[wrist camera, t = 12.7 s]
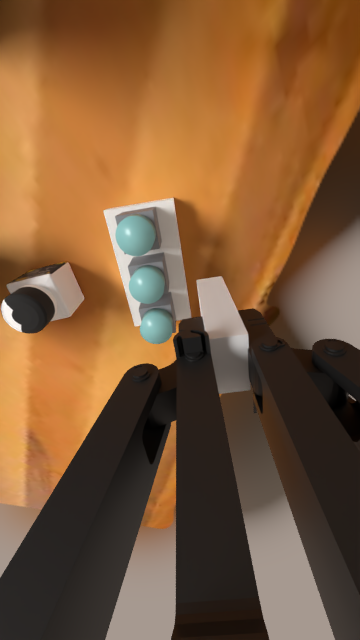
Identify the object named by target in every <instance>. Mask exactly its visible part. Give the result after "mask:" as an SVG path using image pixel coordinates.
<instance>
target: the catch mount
mask: <svg viewBox="0 0 360 640" xmlns="http://www.w3.org/2000/svg"><path fill="white" fill-rule="evenodd" d="M132 214H141V215H144V216H146V217H147V218H149V219H150V220H151V222H152V223H153V225H154V227H155V230H156V238H155V241H154V244H153V246H152V248H151V249H150V251H149V252H147V253H146V254H144V255H142V256H131V255H128V254H126V253H125V252H123V251H122V250H121V249H120V247H119V246H118V244H117V241H116V236H115V234H116V229H117V226H118V224H119V223H120V222H121V221H122V220H123V219H125V218H126V217H128V216H129V215H132ZM104 215H105V219H106V222H107V226H108V230H109V233H110V237H111V241H112V244H113V248H114V252H115V255H116V259H117V263H118V267H119V270H120V274H121V278H122V281H123V285H124V289H125V292H126V296H127V300H128V303H129V307H130V311H131V314H132V318H133V322H134V326H141V322H142V318H143V315H144V314H145V313H146V312H147V311H148V310H150V309H152V308H162V309H164V310H166V311H168V312H169V313H170V315H171V317H172V320H173V327H172V333H175V332H176V321H177V320H183V319H188V318H191V310H190V303H189V297H188V290H187V283H186V277H185V270H184V264H183V257H182V250H181V244H180V237H179V230H178V224H177V217H176V211H175V204H174V197H173V198H168V199H162V200H156V201H150V202H144V203H138V204H133V205H127V206H121V207H115V208H109V209H106V210H104ZM143 265H152V266H155V267H157V268H158V269H160V271H161V272H162V273H163V275H164V278H165V286H164V292H163V295H162V297H161V298H160V299H159V300H158V301H156V302H154V303H151V304H144V303H141V302H138V301H137V300H135V299H134V298H133V297H132V295H131V293H130V291H129V282H130V279H131V277H132V275H133V273H134V271H135V270H136V269H137V268H139V267H140V266H143Z"/></svg>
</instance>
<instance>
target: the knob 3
mask: <svg viewBox="0 0 360 640" xmlns="http://www.w3.org/2000/svg"><path fill="white" fill-rule="evenodd" d="M172 327H173V320H172V317H171V315H170V313H169V312H168V311H166V310H164V309H162V308H152V309H150V310H148V311H147V312H146V313H145V314H144V315H143V318H142V322H141V326H140V333H141V335H142V337H143V338H144V339H145V340H146V341H148V342H150V343H153V344H160V343H164V342H166V341H167V340H168V339H169V338H170V337H171V335H172Z"/></svg>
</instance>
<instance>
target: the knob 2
mask: <svg viewBox="0 0 360 640" xmlns="http://www.w3.org/2000/svg"><path fill="white" fill-rule="evenodd" d="M164 286H165V278H164V275H163V273H162V272H161V271H160V269H158V268H157V267H155V266H152V265H143V266H140V267H139V268H137V269H136V270H135V271H134V273H133V275H132V277H131V279H130V282H129V291H130V293H131V295H132V297H133V298H134V299H135V300H137V301H138V302H141V303H144V304H151V303H154V302H156V301H158V300H159V299H160V298H161V297H162V295H163V292H164Z"/></svg>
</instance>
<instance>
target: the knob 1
mask: <svg viewBox="0 0 360 640" xmlns="http://www.w3.org/2000/svg"><path fill="white" fill-rule="evenodd" d="M115 236H116V241H117V244H118V246H119V247H120V249H121V250H122V251H123V252H125V253H126V254H128V255H131V256H142V255H144V254H146V253H147V252H149V251H150V249H151V248H152V246H153V244H154V241H155V238H156V230H155V227H154V225H153V223H152V222H151V220H150V219H149V218H147V217H146V216H144V215H141V214H132V215H129V216H128V217H126V218H125V219H123V220H122V221H121V222H120V223H119V224H118V226H117V229H116V234H115Z"/></svg>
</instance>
